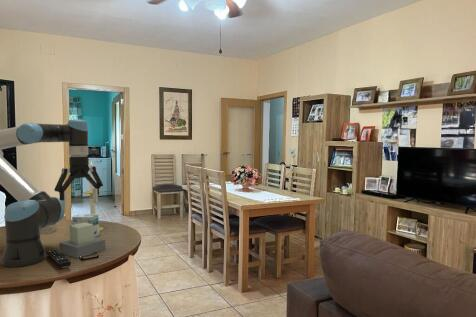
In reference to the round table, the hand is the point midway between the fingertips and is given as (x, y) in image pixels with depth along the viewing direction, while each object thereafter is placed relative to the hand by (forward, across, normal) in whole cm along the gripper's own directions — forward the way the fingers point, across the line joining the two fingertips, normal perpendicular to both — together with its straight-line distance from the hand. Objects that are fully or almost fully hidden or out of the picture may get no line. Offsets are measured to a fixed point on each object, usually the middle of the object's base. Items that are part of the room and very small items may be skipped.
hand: (80, 205), depth 151 cm
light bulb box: (+20, +13, +21) cm, 32 cm away
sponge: (+21, +5, +46) cm, 50 cm away
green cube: (+16, 0, 0) cm, 16 cm away
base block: (+20, 0, 0) cm, 21 cm away
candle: (+20, +22, +30) cm, 42 cm away
